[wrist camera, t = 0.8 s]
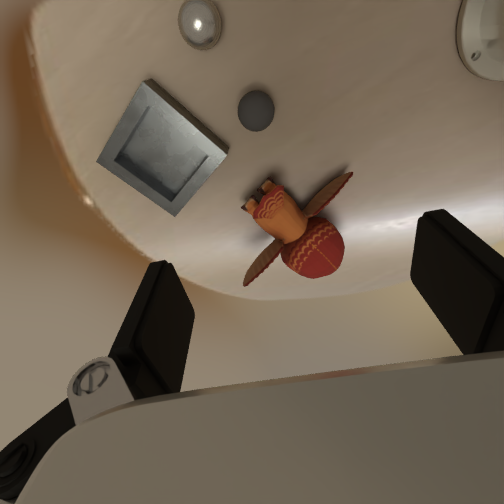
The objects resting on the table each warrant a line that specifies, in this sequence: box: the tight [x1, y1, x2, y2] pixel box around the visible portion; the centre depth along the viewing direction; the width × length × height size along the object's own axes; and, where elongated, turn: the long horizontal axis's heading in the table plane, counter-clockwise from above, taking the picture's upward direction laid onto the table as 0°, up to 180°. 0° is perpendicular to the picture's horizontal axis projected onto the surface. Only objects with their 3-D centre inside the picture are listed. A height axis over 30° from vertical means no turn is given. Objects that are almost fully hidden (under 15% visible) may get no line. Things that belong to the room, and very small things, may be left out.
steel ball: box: [178, 0, 221, 50], centre depth 27 cm, size 4×4×4 cm
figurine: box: [241, 172, 353, 287], centre depth 38 cm, size 20×9×15 cm
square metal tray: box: [96, 79, 229, 217], centre depth 35 cm, size 11×11×3 cm
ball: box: [238, 91, 274, 132], centre depth 31 cm, size 4×4×4 cm
